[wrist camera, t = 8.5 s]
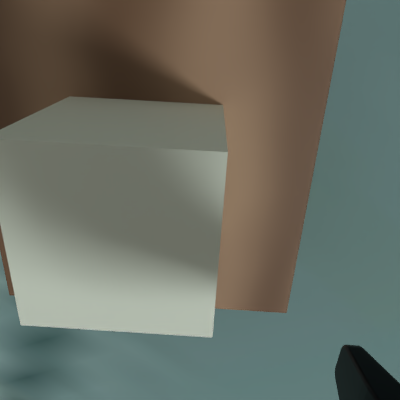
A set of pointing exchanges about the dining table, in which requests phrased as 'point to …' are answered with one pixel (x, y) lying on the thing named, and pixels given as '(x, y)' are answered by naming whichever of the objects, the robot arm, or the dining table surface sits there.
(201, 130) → the sage cube
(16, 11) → the walnut block
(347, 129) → the dining table surface
